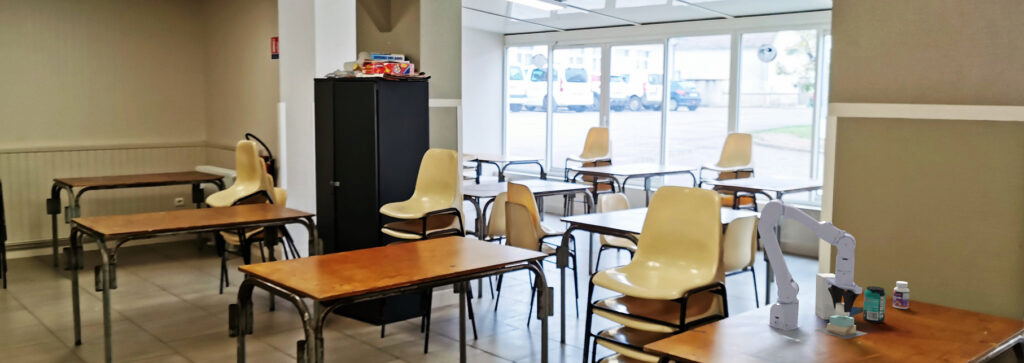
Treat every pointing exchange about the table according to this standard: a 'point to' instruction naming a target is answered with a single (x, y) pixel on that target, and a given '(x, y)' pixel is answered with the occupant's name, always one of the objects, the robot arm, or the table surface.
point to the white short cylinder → (841, 310)
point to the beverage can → (874, 304)
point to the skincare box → (824, 296)
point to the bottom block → (841, 329)
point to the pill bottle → (901, 295)
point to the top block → (841, 321)
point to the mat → (858, 333)
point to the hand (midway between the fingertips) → (842, 310)
